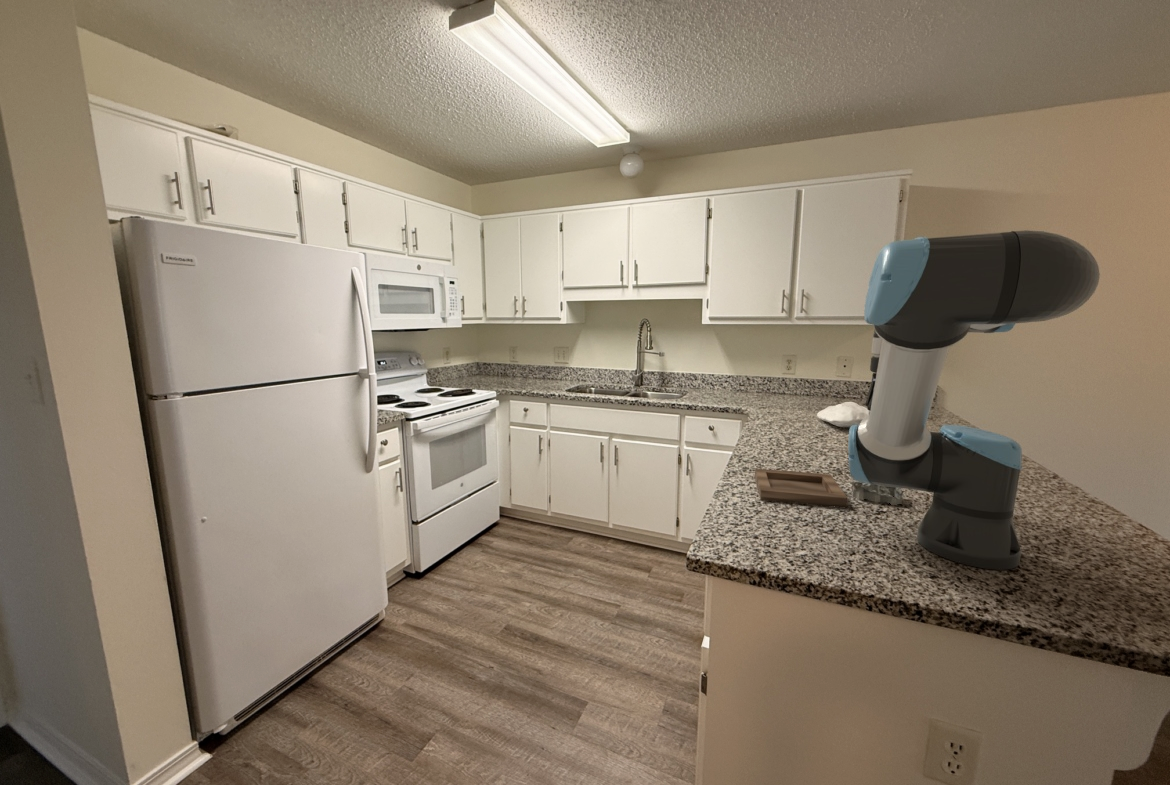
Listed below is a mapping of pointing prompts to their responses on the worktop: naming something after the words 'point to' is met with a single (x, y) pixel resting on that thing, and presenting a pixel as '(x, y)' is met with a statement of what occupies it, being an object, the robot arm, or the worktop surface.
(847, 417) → the crumpled cloth
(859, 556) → the worktop surface
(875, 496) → the egg carton
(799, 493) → the pocket board
